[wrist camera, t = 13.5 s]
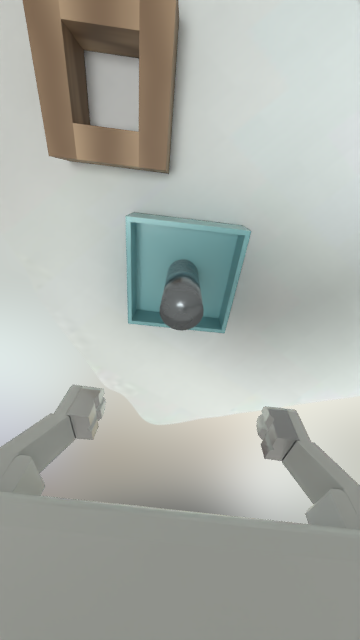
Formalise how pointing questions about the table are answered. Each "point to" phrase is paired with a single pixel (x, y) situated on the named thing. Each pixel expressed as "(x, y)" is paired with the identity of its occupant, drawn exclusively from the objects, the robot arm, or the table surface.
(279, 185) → the table surface
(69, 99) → the pin block
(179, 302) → the pin
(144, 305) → the tray
